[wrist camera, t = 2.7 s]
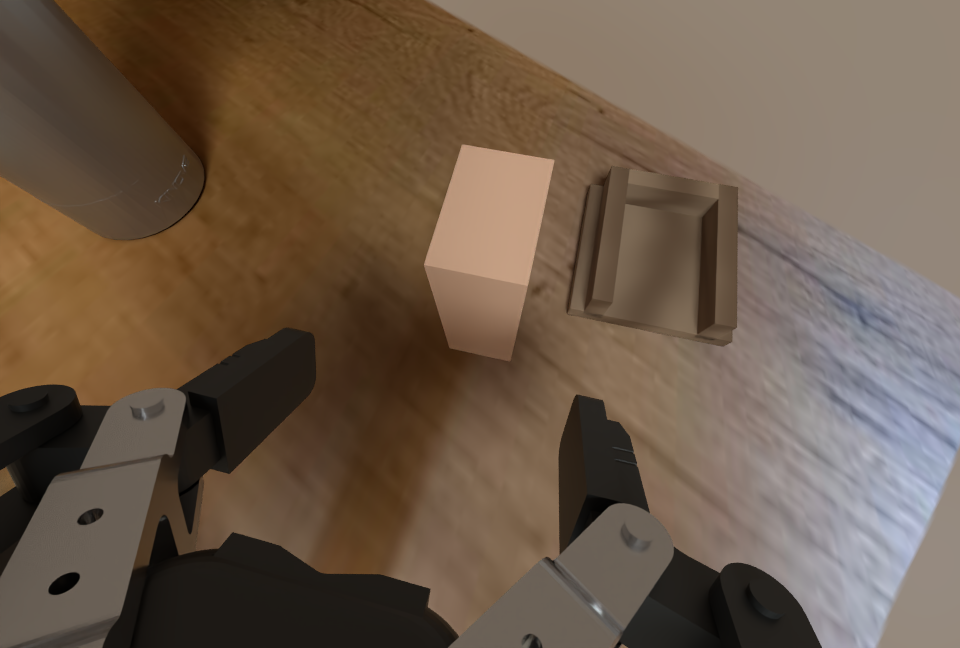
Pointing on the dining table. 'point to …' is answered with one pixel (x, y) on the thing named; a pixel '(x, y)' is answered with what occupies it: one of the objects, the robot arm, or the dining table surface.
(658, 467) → the dining table surface
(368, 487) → the dining table surface
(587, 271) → the tray
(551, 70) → the dining table surface
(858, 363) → the dining table surface
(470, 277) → the clay block
